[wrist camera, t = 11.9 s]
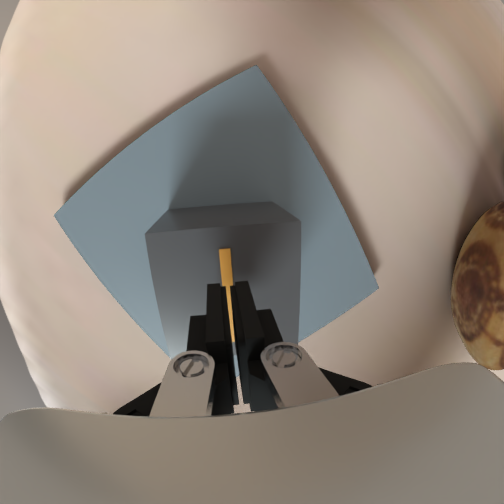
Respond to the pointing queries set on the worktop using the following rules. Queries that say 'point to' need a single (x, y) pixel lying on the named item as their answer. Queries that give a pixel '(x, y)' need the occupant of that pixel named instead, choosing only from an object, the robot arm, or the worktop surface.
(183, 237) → the dark grey cube
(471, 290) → the clay pot
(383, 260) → the worktop surface
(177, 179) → the base
